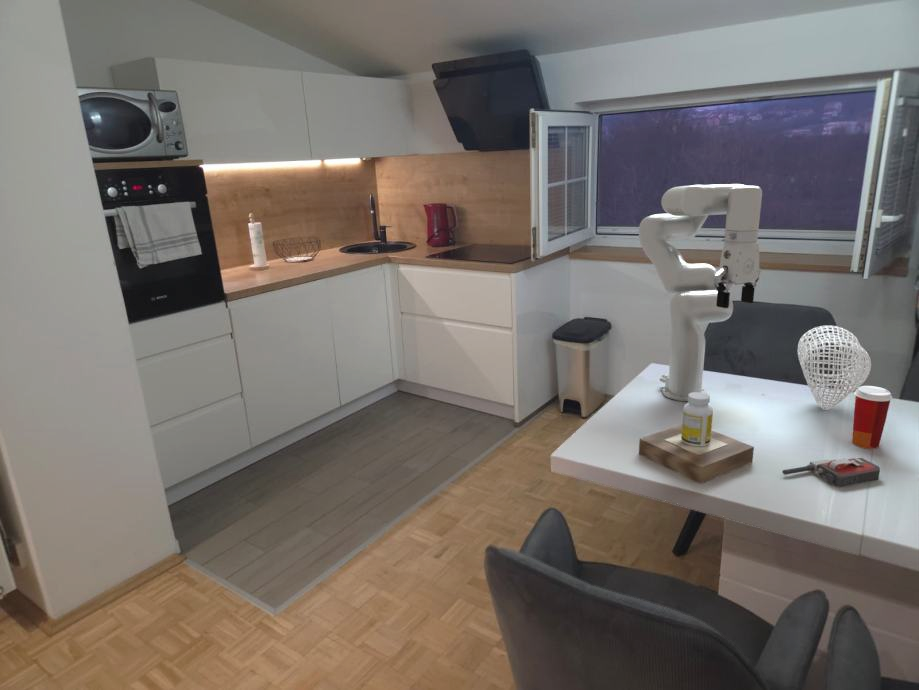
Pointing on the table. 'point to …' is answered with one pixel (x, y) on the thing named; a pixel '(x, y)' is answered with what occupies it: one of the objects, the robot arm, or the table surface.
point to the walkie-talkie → (841, 471)
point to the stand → (696, 454)
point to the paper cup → (870, 415)
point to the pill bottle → (697, 420)
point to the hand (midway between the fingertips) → (734, 304)
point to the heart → (858, 363)
